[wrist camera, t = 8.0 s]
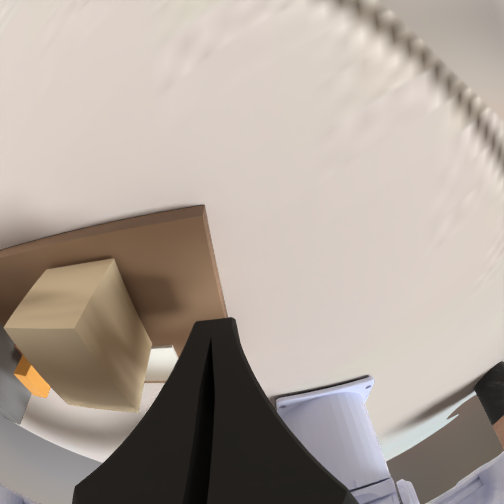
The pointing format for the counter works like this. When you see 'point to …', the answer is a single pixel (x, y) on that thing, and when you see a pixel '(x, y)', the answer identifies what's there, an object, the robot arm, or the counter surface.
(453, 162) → the counter surface
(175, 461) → the robot arm
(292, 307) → the counter surface
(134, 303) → the base
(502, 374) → the travel mug
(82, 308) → the tan rectangular block
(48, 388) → the block
